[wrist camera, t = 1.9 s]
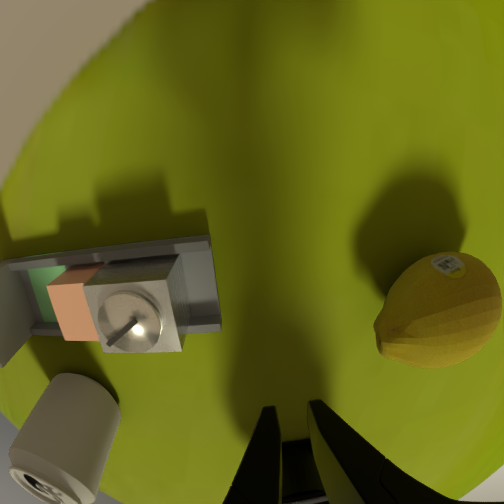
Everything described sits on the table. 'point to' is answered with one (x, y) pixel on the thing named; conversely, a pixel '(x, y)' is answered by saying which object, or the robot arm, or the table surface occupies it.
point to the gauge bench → (53, 264)
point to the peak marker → (73, 303)
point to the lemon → (439, 311)
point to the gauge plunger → (140, 304)
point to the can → (66, 441)
